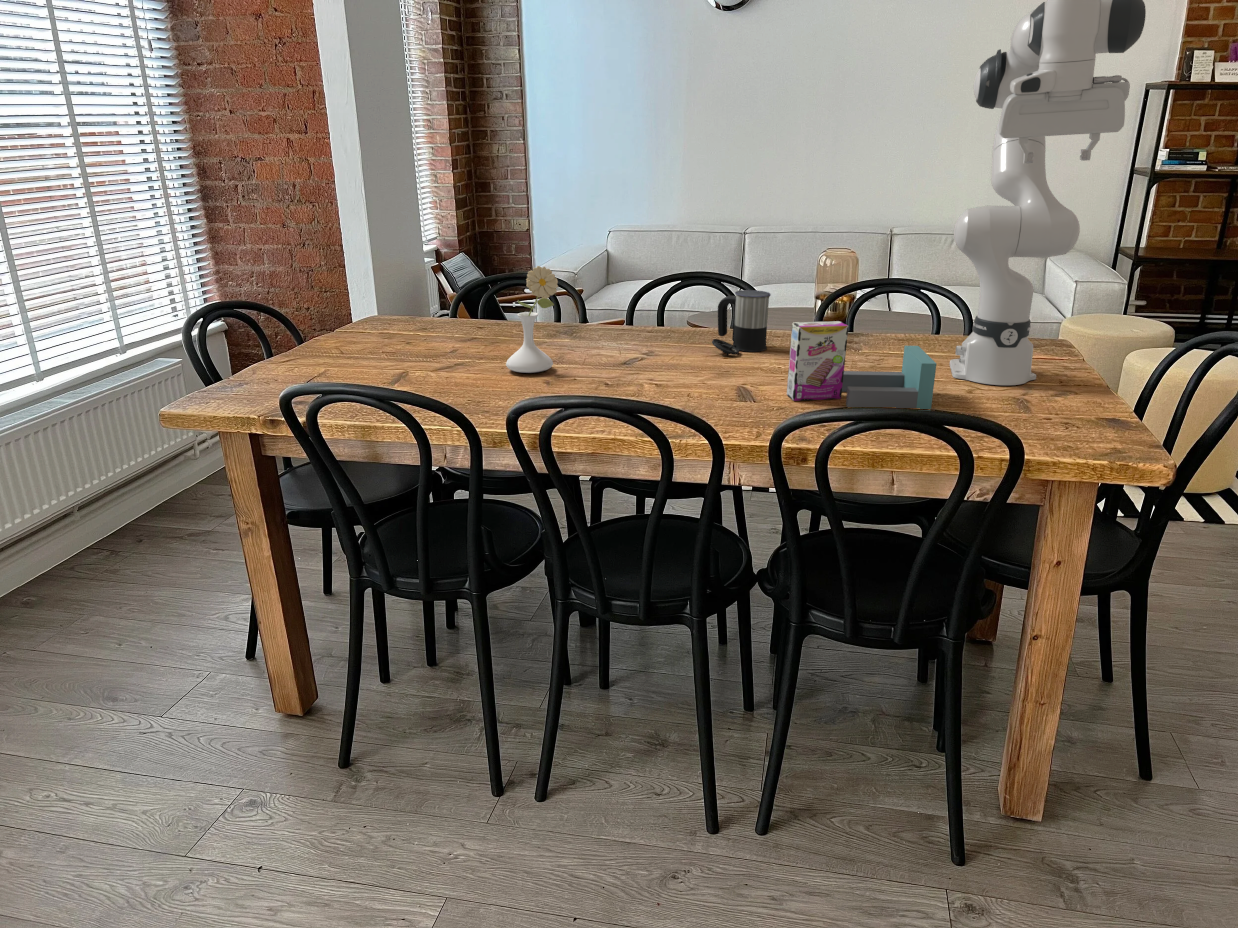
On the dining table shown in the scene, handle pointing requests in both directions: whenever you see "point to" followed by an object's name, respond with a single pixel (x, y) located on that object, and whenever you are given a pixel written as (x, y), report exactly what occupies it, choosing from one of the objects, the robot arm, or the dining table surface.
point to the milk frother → (744, 322)
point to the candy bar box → (817, 360)
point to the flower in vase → (529, 354)
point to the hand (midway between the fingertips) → (1056, 161)
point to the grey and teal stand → (894, 384)
